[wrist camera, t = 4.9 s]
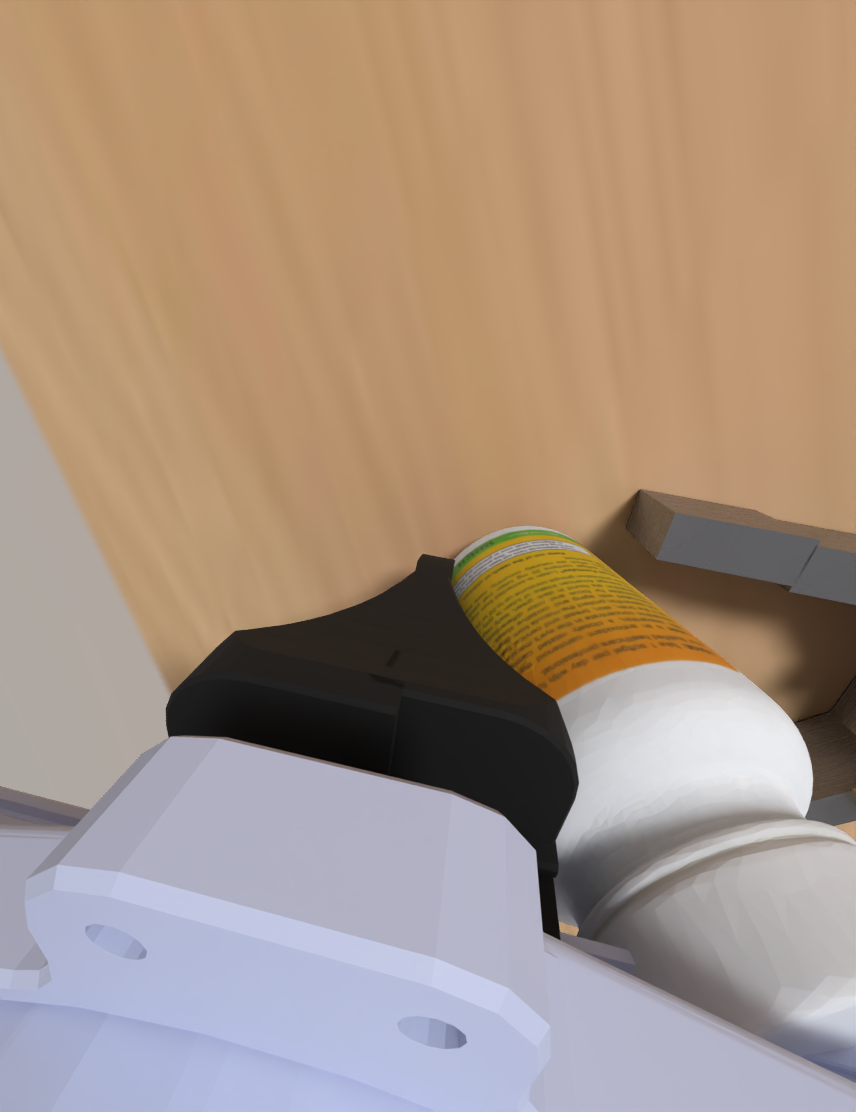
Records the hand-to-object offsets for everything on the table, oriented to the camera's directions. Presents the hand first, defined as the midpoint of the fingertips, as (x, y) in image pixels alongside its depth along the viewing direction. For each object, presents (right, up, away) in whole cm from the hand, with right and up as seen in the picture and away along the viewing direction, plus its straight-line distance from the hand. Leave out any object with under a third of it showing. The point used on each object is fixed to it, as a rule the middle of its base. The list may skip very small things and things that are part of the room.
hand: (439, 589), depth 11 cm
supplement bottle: (+2, 0, +2) cm, 3 cm away
